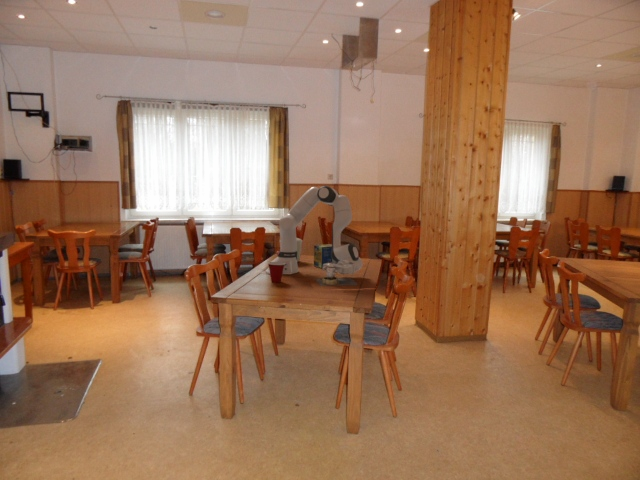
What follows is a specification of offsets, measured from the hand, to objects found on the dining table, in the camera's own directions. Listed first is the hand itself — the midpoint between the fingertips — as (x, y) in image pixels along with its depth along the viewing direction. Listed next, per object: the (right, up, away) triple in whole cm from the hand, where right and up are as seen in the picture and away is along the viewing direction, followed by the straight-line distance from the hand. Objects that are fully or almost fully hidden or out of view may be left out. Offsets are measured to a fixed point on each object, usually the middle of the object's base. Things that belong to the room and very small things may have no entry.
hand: (329, 270), depth 271 cm
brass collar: (0, -9, +2) cm, 9 cm away
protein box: (-1, -1, +59) cm, 59 cm away
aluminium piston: (0, -8, +2) cm, 8 cm away
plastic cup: (-33, -8, +8) cm, 34 cm away
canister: (-28, +1, +74) cm, 79 cm away
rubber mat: (+4, -9, +5) cm, 11 cm away
